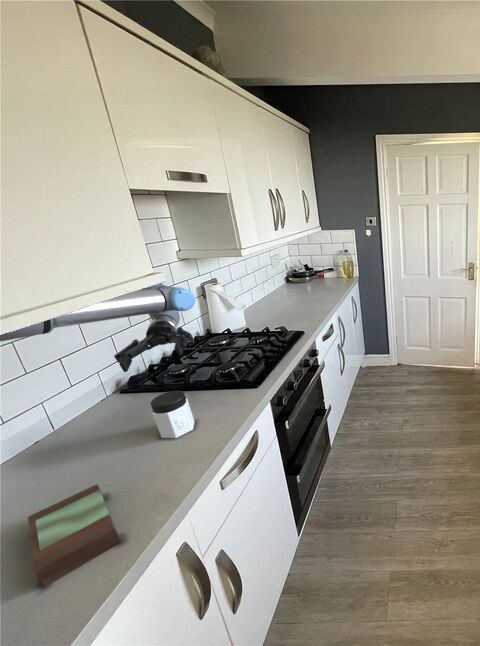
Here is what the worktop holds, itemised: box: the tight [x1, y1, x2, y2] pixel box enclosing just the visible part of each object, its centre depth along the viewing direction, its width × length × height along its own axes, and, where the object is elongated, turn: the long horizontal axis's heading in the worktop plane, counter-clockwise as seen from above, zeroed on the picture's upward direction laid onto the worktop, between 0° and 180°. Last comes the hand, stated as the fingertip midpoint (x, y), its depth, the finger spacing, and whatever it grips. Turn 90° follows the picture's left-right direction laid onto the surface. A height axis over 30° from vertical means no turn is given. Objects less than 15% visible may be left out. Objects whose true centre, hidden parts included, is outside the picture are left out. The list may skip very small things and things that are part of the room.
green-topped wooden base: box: [27, 483, 122, 588], centre depth 72 cm, size 18×11×5 cm, turn 50°
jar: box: [149, 390, 196, 439], centre depth 103 cm, size 9×8×12 cm
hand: (151, 359), depth 101 cm, fingers open, 13 cm apart
